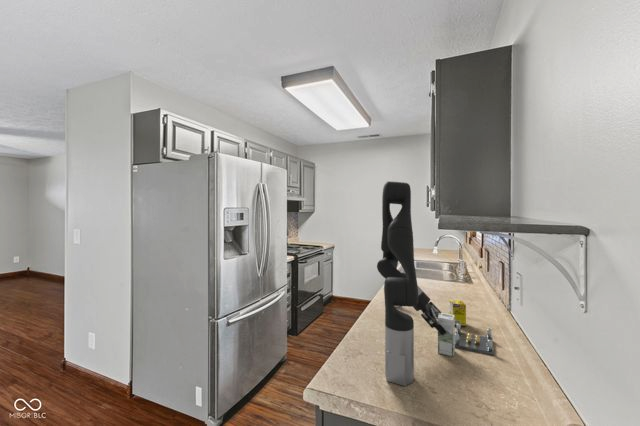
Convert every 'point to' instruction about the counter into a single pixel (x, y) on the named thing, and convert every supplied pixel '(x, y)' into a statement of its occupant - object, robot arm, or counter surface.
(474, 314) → the counter surface
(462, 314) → the supplement box
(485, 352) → the chassis plate
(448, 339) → the syrup box
